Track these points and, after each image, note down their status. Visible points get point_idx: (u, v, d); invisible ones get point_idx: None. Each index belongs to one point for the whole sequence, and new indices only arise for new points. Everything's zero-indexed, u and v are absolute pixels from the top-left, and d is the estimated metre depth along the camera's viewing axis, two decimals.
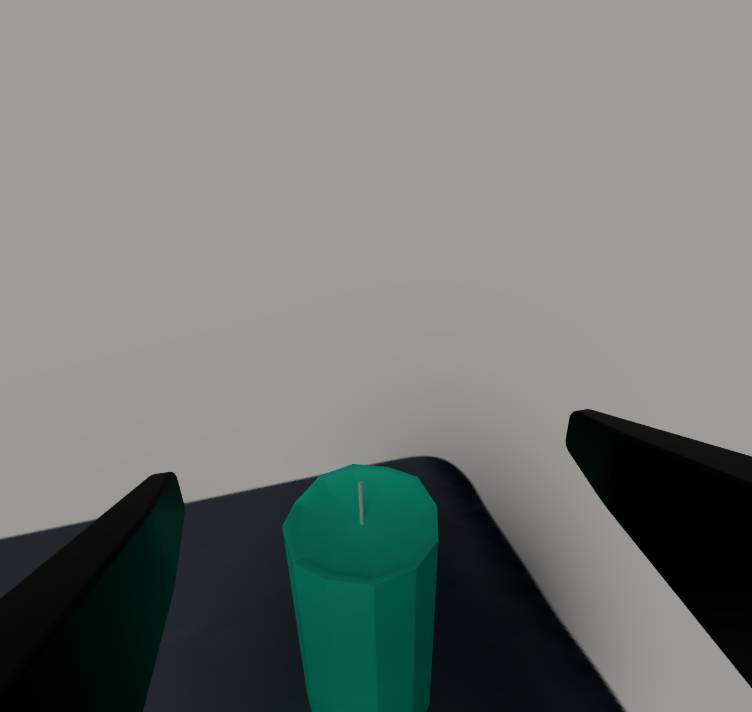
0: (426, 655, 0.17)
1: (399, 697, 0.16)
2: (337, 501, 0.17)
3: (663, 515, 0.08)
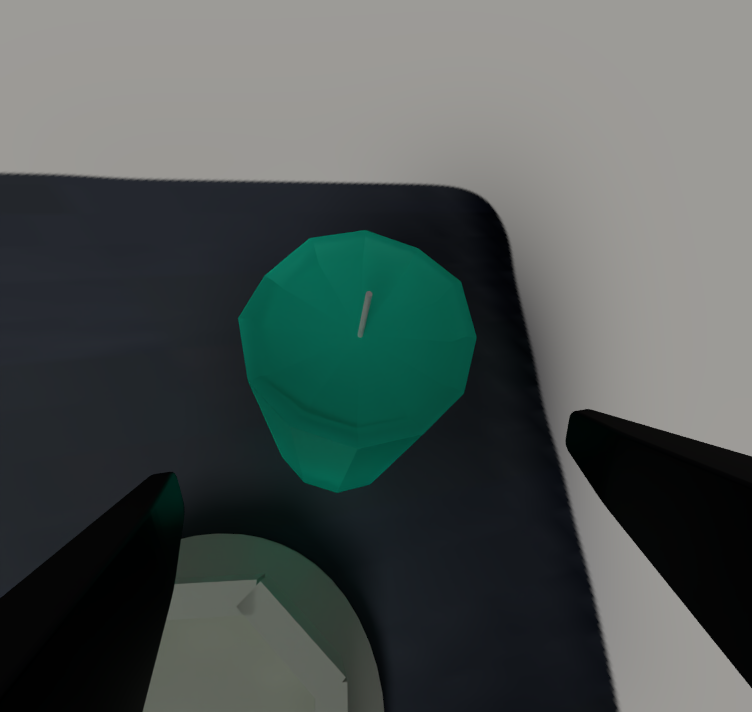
0: None
1: (365, 477, 0.15)
2: (330, 287, 0.11)
3: (663, 515, 0.08)
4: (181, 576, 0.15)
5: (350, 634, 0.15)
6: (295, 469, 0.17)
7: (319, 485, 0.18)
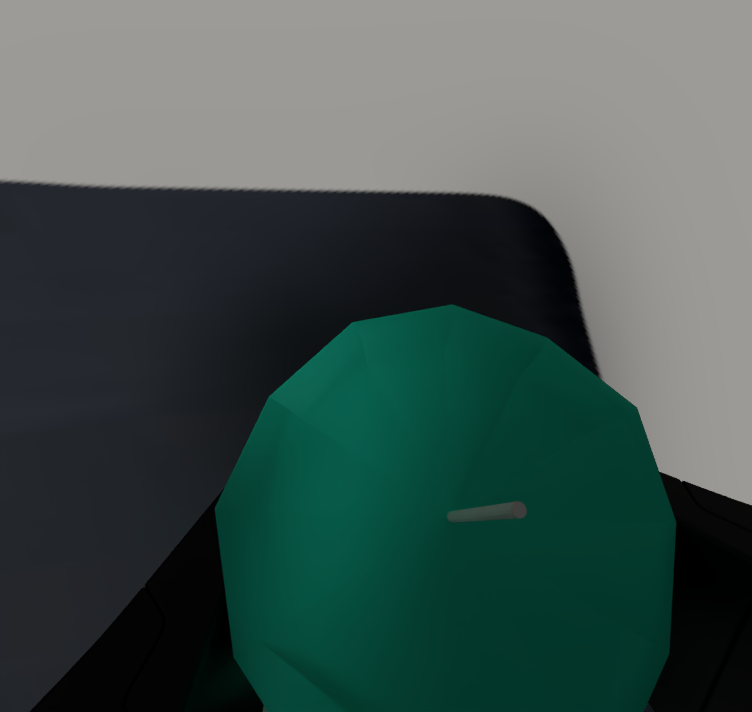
0: None
1: None
2: (390, 414, 0.06)
3: None
4: None
5: None
6: None
7: None
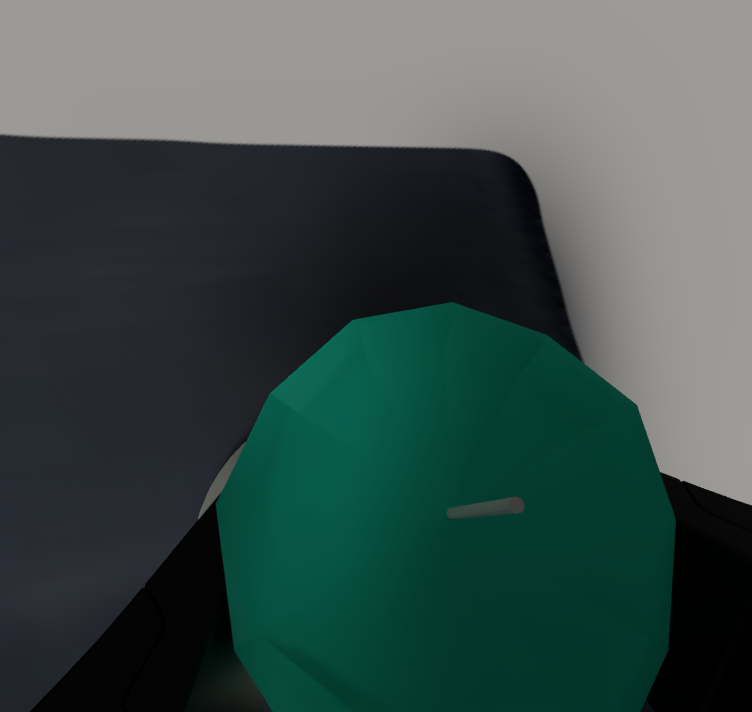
0: None
1: None
2: (390, 412, 0.06)
3: None
4: None
5: None
6: None
7: None
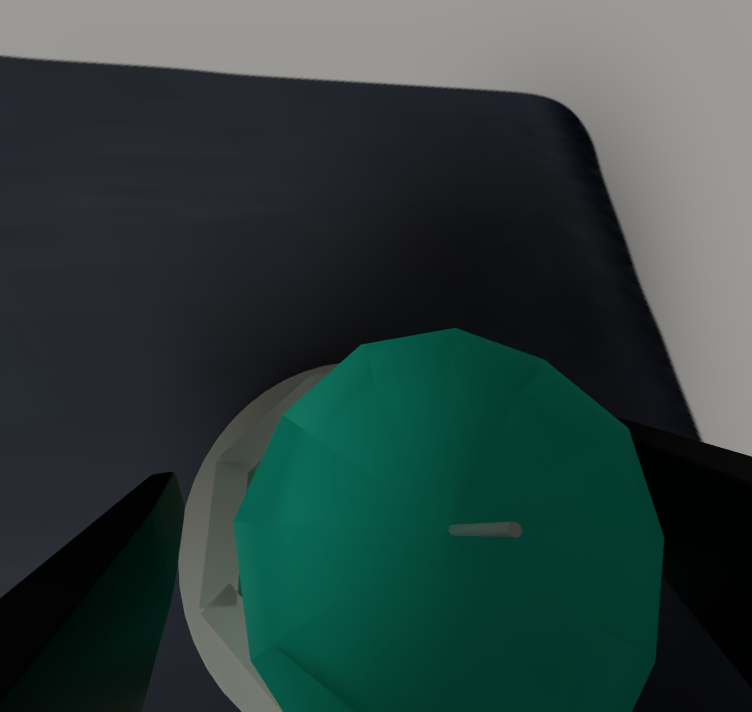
0: None
1: None
2: (395, 432, 0.06)
3: (663, 515, 0.08)
4: None
5: None
6: None
7: None
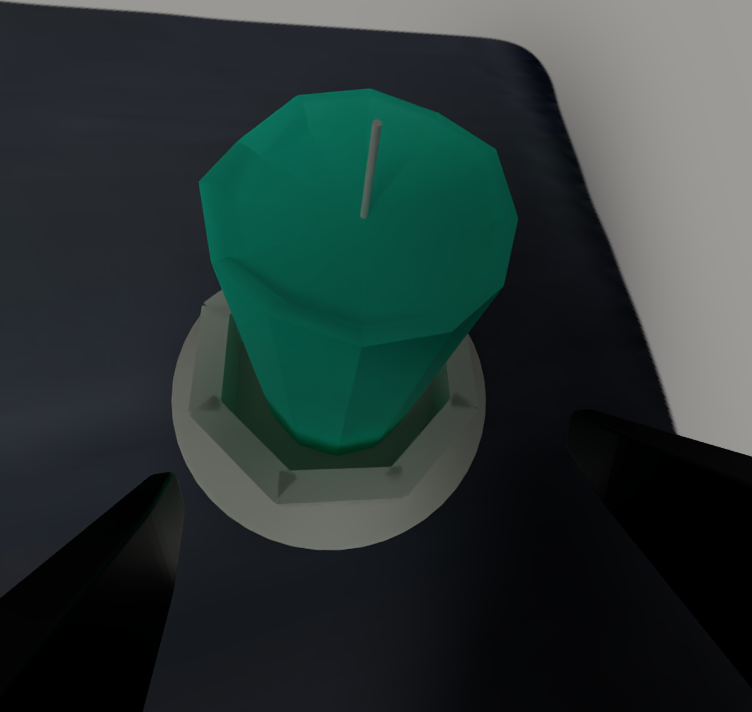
0: (415, 398, 0.13)
1: (369, 430, 0.13)
2: (324, 160, 0.08)
3: (663, 515, 0.08)
4: None
5: None
6: (287, 426, 0.15)
7: (315, 446, 0.15)
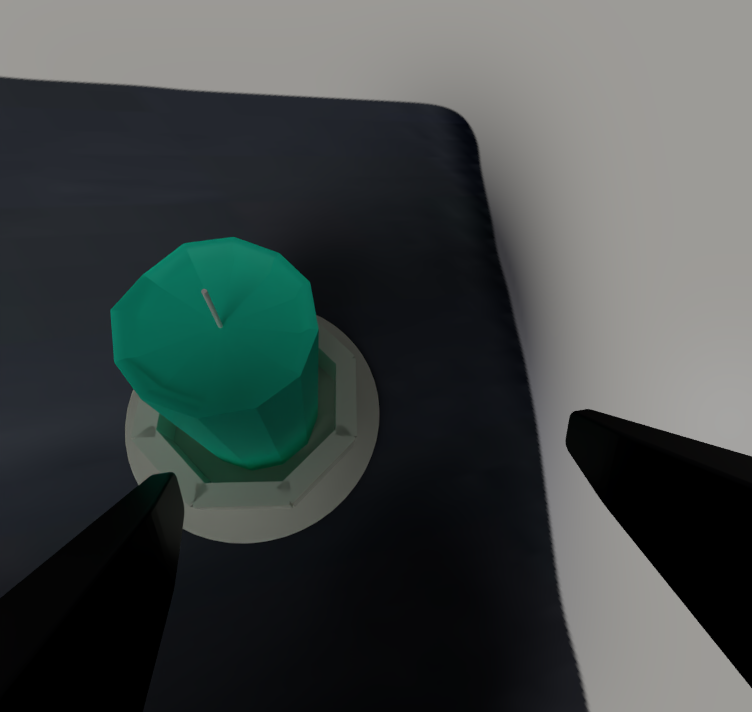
0: (295, 432, 0.17)
1: (262, 454, 0.17)
2: (200, 285, 0.13)
3: (663, 515, 0.08)
4: None
5: (356, 362, 0.23)
6: None
7: (233, 463, 0.20)
